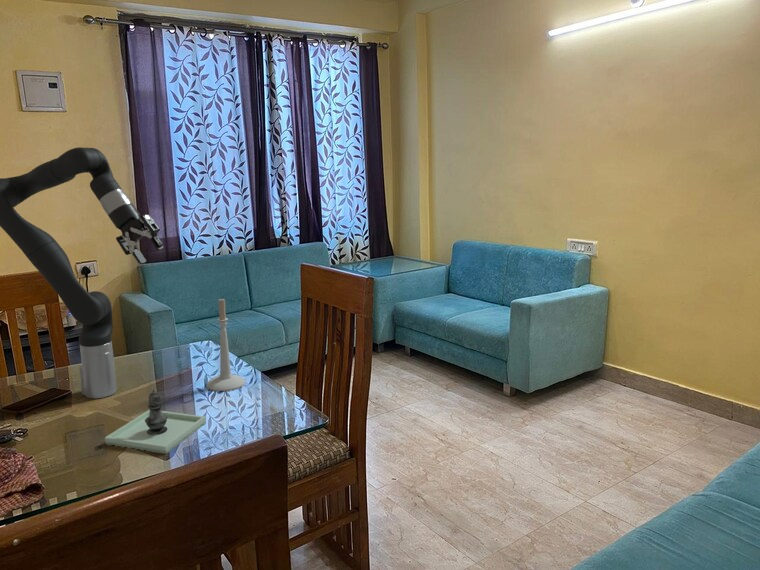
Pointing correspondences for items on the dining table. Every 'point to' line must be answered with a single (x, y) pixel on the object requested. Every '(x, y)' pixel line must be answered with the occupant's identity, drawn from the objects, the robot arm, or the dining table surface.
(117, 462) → the dining table surface
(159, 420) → the dark grey chess piece
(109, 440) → the tray
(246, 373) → the dining table surface
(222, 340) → the candlestick
